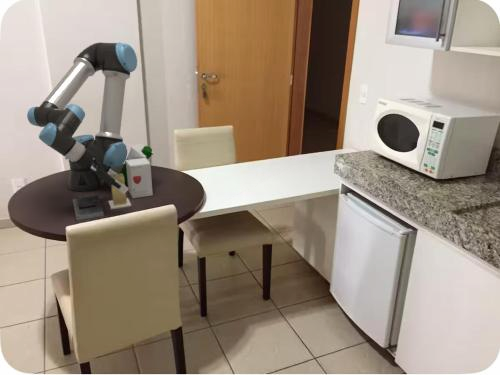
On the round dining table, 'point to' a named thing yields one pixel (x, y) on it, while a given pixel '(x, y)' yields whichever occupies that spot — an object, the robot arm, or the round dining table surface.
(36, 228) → the round dining table surface
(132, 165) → the supplement box
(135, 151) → the milk carton
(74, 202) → the grey metal slotted plate
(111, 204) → the mat
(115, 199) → the gold metal column
